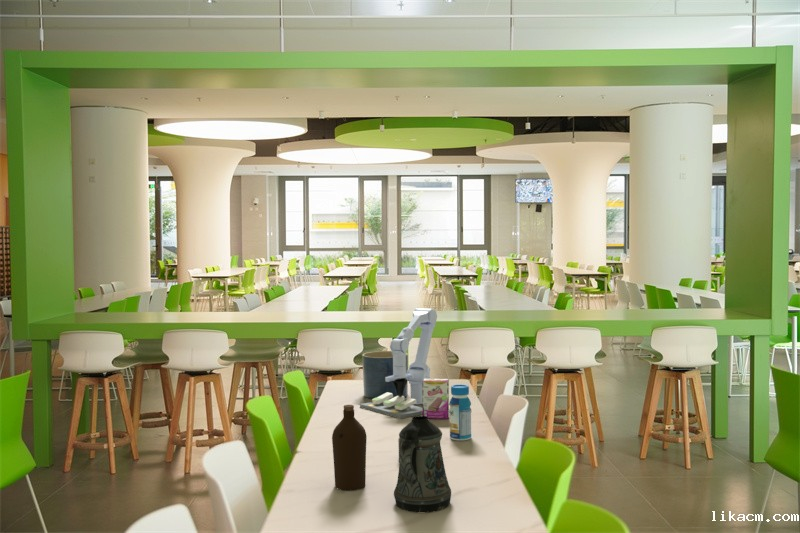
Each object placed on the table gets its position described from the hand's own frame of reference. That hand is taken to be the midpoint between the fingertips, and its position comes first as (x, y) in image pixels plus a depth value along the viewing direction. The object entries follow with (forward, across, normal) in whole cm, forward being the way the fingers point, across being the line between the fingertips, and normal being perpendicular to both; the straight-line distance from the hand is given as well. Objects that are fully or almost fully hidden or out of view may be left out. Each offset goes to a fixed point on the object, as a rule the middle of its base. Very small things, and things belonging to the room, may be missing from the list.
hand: (399, 395), depth 350 cm
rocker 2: (+2, +3, 0) cm, 4 cm away
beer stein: (+6, +72, +104) cm, 127 cm away
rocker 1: (+2, +3, -8) cm, 9 cm away
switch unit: (+6, +3, 0) cm, 7 cm away
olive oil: (+6, +78, +76) cm, 109 cm away
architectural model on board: (+7, +44, +66) cm, 80 cm away
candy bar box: (+6, -1, +24) cm, 25 cm away
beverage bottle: (+6, +14, +56) cm, 58 cm away
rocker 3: (+2, +3, +8) cm, 9 cm away
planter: (+6, -14, -29) cm, 33 cm away
